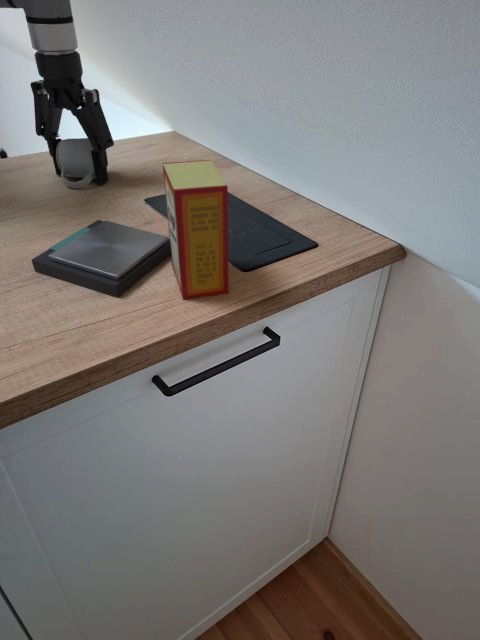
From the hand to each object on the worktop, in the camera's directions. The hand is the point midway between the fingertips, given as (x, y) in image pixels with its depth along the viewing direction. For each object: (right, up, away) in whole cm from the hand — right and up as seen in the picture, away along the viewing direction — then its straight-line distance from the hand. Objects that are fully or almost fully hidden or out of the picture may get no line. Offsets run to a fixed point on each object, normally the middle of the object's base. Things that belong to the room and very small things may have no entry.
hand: (82, 177), depth 100 cm
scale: (+13, -21, -24) cm, 35 cm away
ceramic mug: (+1, 0, 0) cm, 1 cm away
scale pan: (+14, -20, -26) cm, 36 cm away
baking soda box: (+27, -25, -27) cm, 46 cm away
